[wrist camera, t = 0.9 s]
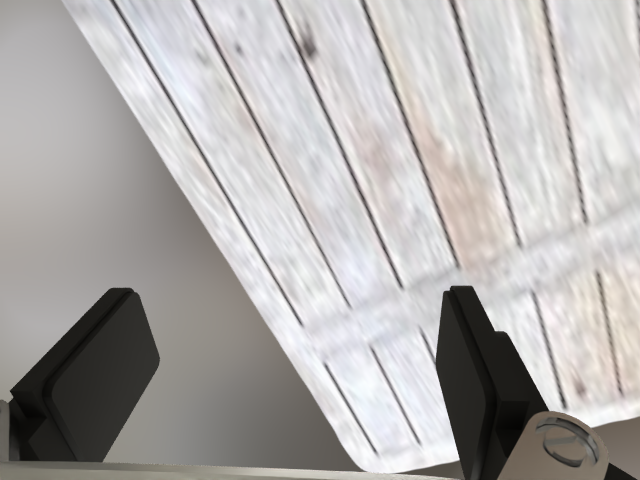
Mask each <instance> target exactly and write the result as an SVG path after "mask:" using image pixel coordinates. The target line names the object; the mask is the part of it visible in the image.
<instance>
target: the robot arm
mask: <svg viewBox="0 0 640 480" xmlns="http://www.w3.org/2000/svg"><path fill="white" fill-rule="evenodd" d="M159 361H160V357H159V353H158V350H157V348H156V345H155V341H154V338H153V335H152V333H151V329H150V326H149V323H148V320H147V317H146V314H145V311H144V308H143V306H142V302H141V299H140V296H139V295H138V293H136V292H134V291H133V289H131V288H111V289H109V290H108V291H107V292H106V293H105V294H104V295H103V296H102V297H101V298H100V299H99V300H98V301H97V302H96V303H95V304H94V305H93V306H92V307H91V308H90V309H89V310H88V311H87V312H86V313H85V314H84V316H82V317H81V318H80V320H79V321H78V322H77V323H76V324H75V325H74V326H73V327H72V328H71V329H70V330H69V331H68V332H67V333H66V334H65V335H64V336H63V337H62V338H61V339H60V340H59V341H58V342H57V343H56V344H55V345H54V346H53V347H52V348H51V349H50V350H49V351H48V352H47V353H46V354H45V355H44V356H43V357H42V358H41V360H39V362H38V363H37V364H36V365H35V366H34V367H33V368H32V369H31V370H30V371H29V372H28V373H27V374H26V375H25V376H24V377H23V378H22V379H21V380H20V381H19V382H18V383H17V384H16V385H15V386H14V387H13V388H12V389H11V390H10V392H11V394H12V395H13V397H14V398H13V399H12V400H11V401H10V402H9V403H7V402H6V401H4V400H0V480H461V479H451V478H442V477H433V476H418V475H402V474H401V475H400V474H385V473H369V472H346V471H345V472H344V471H322V470H299V469H297V470H296V469H275V468H249V467H248V468H247V467H222V466H221V467H220V466H194V465H166V464H135V463H133V464H131V463H102V462H103V460H104V458H105V457H106V455H107V453H108V451H109V450H110V448H111V446H112V445H113V443H114V441H115V440H116V438H117V436H118V434H119V433H120V431H121V429H122V428H123V426H124V424H125V423H126V421H127V419H128V418H129V416H130V414H131V412H132V411H133V409H134V407H135V406H136V404H137V402H138V401H139V399H140V397H141V395H142V394H143V392H144V390H145V389H146V387H147V385H148V384H149V382H150V380H151V379H152V377H153V375H154V374H155V372H156V370H157V368H158V366H159ZM436 370H437V374H438V378H439V382H440V386H441V390H442V393H443V397H444V401H445V405H446V409H447V413H448V416H449V420H450V424H451V428H452V432H453V435H454V439H455V443H456V447H457V451H458V454H459V458H460V462H461V466H462V470H463V473H464V477H465V480H637V479H635V478H634V477H632V476H631V475H629V474H627V473H626V472H624V471H622V470H621V469H619V468H617V467H616V466H614V465H612V464H611V463H609V454H608V451H607V449H606V446H605V444H604V443H603V442H602V440H601V438H600V437H599V436H598V434H596V433H595V432H594V431H593V430H592V429H591V428H590V427H589V426H588V425H586V424H585V423H583V422H581V421H580V420H578V419H577V418H574V417H572V416H569V415H567V414H564V413H560V412H554V411H549V409H548V408H547V406H546V404H545V402H544V400H543V398H542V397H541V395H540V393H539V391H538V389H537V387H536V385H535V384H534V382H533V380H532V378H531V376H530V374H529V372H528V371H527V369H526V367H525V365H524V363H523V361H522V359H521V358H520V356H519V354H518V352H517V350H516V348H515V346H514V345H513V343H512V341H511V339H510V337H509V336H508V334H507V333H505V332H504V331H495V330H494V328H493V326H492V324H491V322H490V320H489V318H488V316H487V314H486V312H485V310H484V308H483V306H482V304H481V302H480V300H479V298H478V296H477V294H476V292H475V290H474V288H473V287H472V286H451V288H450V291H444V293H443V300H442V308H441V317H440V326H439V335H438V344H437V353H436Z"/></svg>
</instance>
